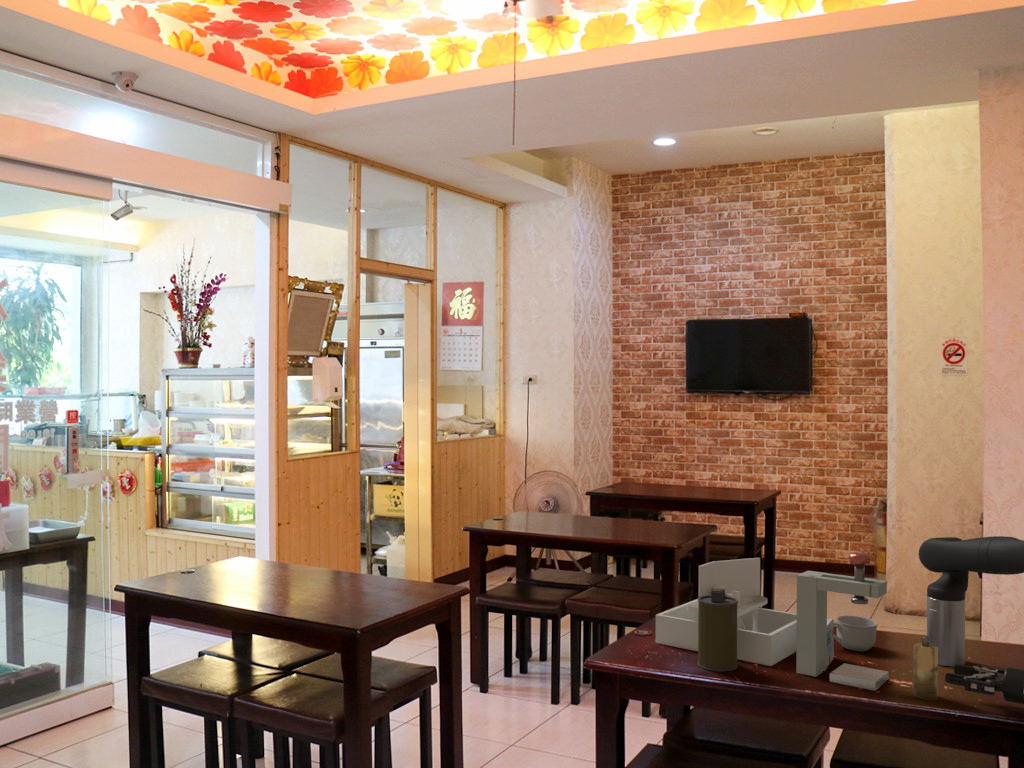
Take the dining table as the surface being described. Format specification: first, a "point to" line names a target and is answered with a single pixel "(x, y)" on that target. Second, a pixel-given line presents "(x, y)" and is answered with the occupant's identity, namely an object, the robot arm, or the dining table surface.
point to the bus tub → (752, 646)
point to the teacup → (856, 632)
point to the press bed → (859, 676)
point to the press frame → (822, 614)
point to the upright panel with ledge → (734, 587)
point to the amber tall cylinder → (925, 670)
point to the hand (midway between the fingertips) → (950, 673)
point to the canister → (717, 631)
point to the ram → (859, 573)
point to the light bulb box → (830, 640)
